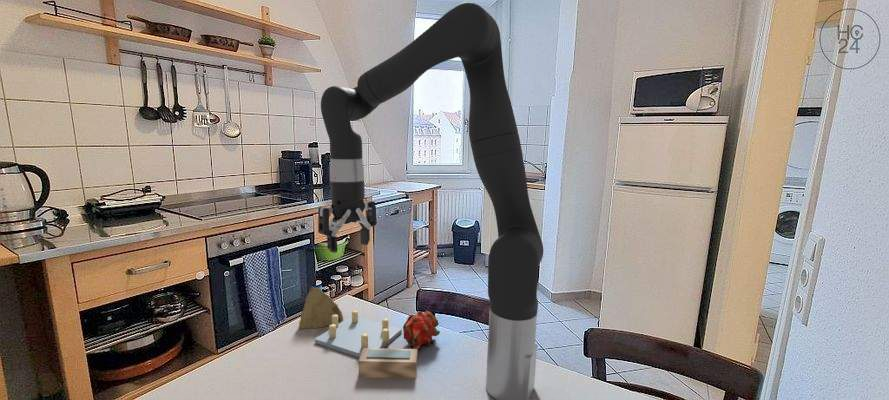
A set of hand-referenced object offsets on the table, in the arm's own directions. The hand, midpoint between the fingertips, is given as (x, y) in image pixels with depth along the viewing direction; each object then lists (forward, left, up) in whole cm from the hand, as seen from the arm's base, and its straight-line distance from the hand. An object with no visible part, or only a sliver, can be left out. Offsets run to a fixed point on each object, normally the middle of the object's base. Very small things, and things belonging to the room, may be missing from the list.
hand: (349, 247), depth 89 cm
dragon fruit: (-15, -8, -25) cm, 30 cm away
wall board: (0, -3, -24) cm, 24 cm away
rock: (+13, -4, -25) cm, 28 cm away
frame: (-14, +5, -25) cm, 29 cm away
